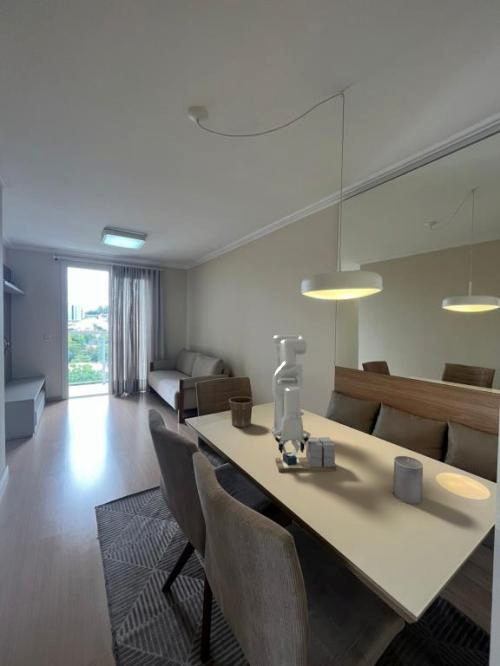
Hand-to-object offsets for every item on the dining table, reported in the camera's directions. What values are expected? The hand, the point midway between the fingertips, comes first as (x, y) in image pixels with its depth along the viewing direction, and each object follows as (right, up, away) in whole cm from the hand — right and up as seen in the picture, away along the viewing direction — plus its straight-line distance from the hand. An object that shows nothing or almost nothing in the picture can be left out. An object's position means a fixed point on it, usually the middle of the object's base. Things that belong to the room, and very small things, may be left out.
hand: (291, 451), depth 131 cm
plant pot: (-25, -5, +53) cm, 59 cm away
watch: (-1, -5, 0) cm, 5 cm away
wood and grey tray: (+6, -7, +1) cm, 9 cm away
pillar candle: (+41, -9, -22) cm, 47 cm away
